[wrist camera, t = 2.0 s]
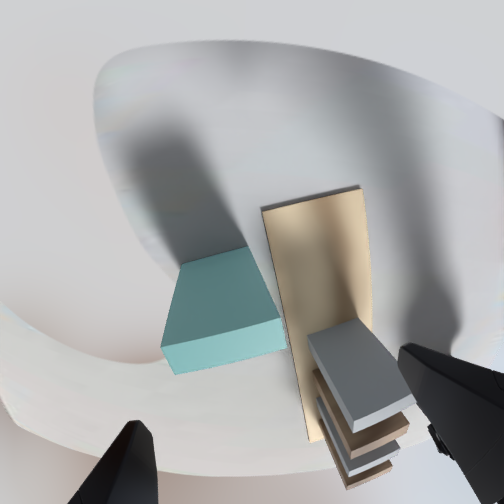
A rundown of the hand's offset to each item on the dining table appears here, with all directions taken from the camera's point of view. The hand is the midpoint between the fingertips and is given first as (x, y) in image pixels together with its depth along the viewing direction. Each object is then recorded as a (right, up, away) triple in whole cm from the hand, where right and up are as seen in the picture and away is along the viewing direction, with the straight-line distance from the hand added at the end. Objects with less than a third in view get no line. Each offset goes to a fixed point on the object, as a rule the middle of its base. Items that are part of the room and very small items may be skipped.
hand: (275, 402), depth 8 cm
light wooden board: (+7, -5, +17) cm, 19 cm away
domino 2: (+7, -3, +16) cm, 17 cm away
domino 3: (+8, -7, +17) cm, 20 cm away
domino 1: (-3, +4, +13) cm, 13 cm away
